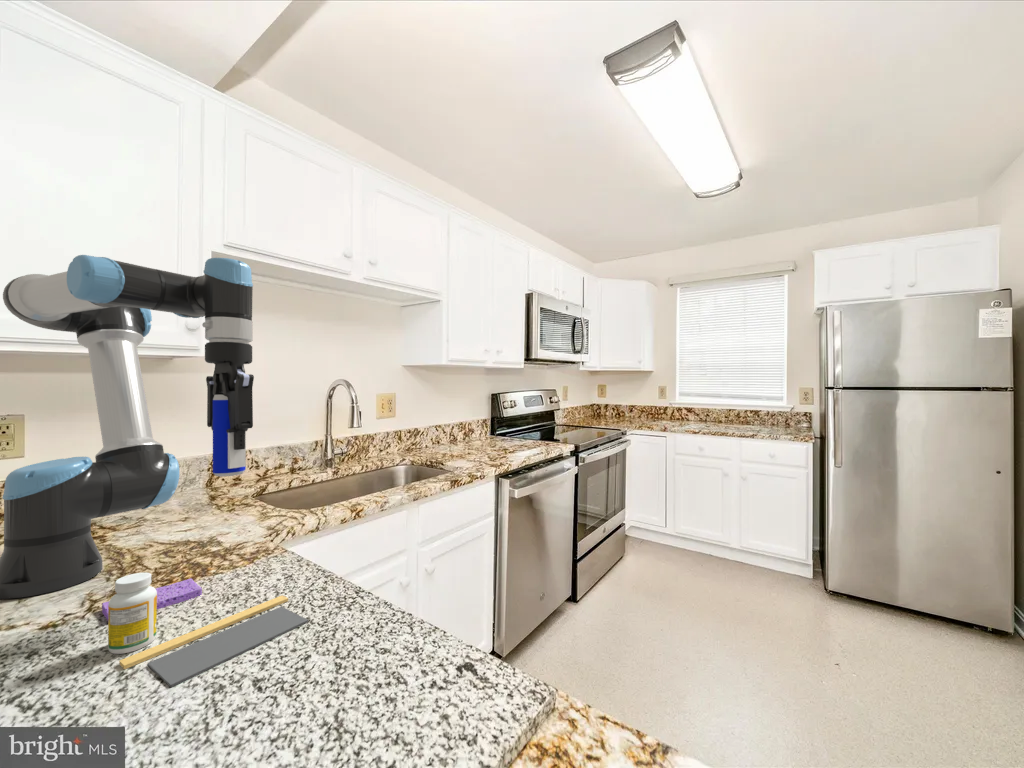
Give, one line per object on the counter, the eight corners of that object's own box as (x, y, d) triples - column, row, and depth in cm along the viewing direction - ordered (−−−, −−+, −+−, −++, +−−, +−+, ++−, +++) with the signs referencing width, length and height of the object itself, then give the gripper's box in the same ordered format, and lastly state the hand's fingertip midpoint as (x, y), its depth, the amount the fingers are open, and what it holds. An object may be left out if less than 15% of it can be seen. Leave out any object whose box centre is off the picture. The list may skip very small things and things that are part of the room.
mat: (147, 665, 58) (147, 663, 58) (281, 608, 73) (281, 606, 73) (170, 687, 53) (170, 685, 53) (308, 621, 68) (308, 619, 68)
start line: (119, 664, 58) (119, 660, 58) (282, 598, 77) (282, 595, 77) (124, 669, 57) (124, 665, 57) (288, 601, 75) (288, 598, 75)
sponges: (202, 598, 78) (202, 588, 78) (107, 628, 68) (107, 616, 68) (191, 587, 82) (191, 577, 82) (101, 613, 73) (101, 602, 73)
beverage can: (239, 470, 85) (239, 394, 85) (249, 473, 82) (249, 394, 82) (208, 474, 81) (208, 394, 81) (218, 478, 78) (218, 394, 78)
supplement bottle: (134, 655, 60) (135, 586, 60) (96, 655, 60) (97, 586, 60) (166, 633, 66) (166, 570, 66) (131, 633, 66) (131, 570, 66)
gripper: (185, 344, 83) (185, 465, 83) (230, 336, 73) (230, 474, 73) (228, 347, 90) (228, 459, 89) (274, 340, 80) (275, 467, 79)
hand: (229, 465), depth 81 cm, fingers closed on beverage can, 5 cm apart
